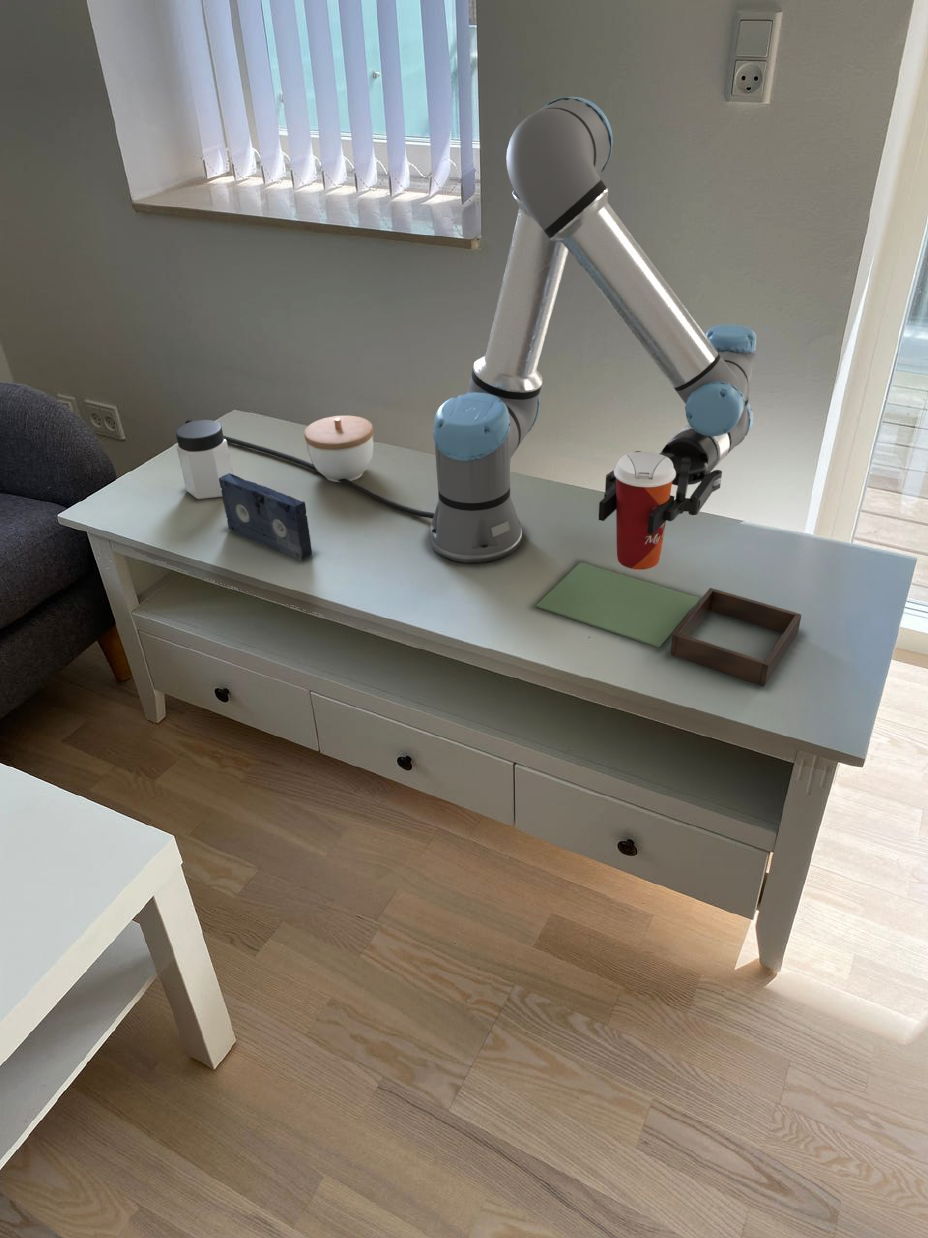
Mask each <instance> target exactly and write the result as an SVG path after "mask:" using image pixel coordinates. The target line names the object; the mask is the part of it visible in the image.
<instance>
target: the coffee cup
mask: <svg viewBox="0 0 928 1238" xmlns="http://www.w3.org/2000/svg"><path fill="white" fill-rule="evenodd" d="M613 470H614V475H615V477H616V510H615V512H616V513H615V514H616V515H615V516H616V520H615V522H616V523H615V524H616V526H615V527H616V528H615V529H616V530H615V531H616V533H615V534H616V559H617V561H618V563H619V564H620V565H621V566H623V567H625V568H627V569H630V570H638V571H640V570H642V571H643V570H648V569H652V568H654V567H656V566H657V565H658V564H659V562H660V558H661V553H662V549H663V548H662V547H663V542H664V536H665V531H666V523H667V520H666V521H665V522H664V524H663V525H662V526H661V527H660V528H659V529H658V530H657V531H656V532H655V533H654V534H653V535H652V534H648V533H647V531H648V519H649V515H650V514H651V513H652V512H653V511H654V510H655V509H656V508H657V507H658V506H659V505H661V504H663V503H665V502H667V501H668V500H669V498H670V495H671V492H672V486H673V484H672V480H673V479H674V478H675V476H676V471H675V469H674V468H673V463H672V461H671V460H670V459H669V458H668V457H666V456H664V455H661V454H659V453H657V452H654V451H653V452H652V451H641V452H636V451H633V452H630V453H627V454H624V455H622V456H621V457H619V459H618V461H617V463H616V466H615V467H614V469H613Z"/></svg>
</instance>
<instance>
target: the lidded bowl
mask: <svg viewBox="0 0 928 1238" xmlns="http://www.w3.org/2000/svg"><path fill="white" fill-rule="evenodd" d="M303 434H304V440H305V443H306V449H307V453H308V456H309V459H310V461H311V464H313V465H314V467H315V468H316V469H317V470H318V471H319V472H318V473H320V474H321V475H322V476H324V477H325V479H327V481H329V482H333V483H340V482H339V481H338V480H340V479H347V480H349V481H351V482H353V481H356V480H358V479H360V478H361V477H362V476H363V475H364V472H365V471H366V470H367V469H368V468H369V466H370V464H371V462H372V459H373V456H374V447H375V442H374V425H373V424H372V422H371V421H370V420H368V419H366V418H364V417H362V416H361V417H360V416H357V415H333V416H328V417H324V418H320V419H318V420H315V421H313V422H312V423H310V424H309V425H307V427H306V428H305V430H304V433H303Z"/></svg>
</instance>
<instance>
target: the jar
mask: <svg viewBox="0 0 928 1238" xmlns="http://www.w3.org/2000/svg"><path fill="white" fill-rule="evenodd" d="M192 421H193V422H189V423H186V422H185V423H186V424H185V423H183V424H182V425H180V426H179V427H177V428H176V430H175V437H176V441H177V444H176V445H175V446H176V451H177V455H178V459H179V465H180V469H181V474H182V477H183V481H184V486H185V490H186V492H188V493H189V494H190V495H191V496H193V497H194V498H196V500H204V499H205V500H206V499H214V498H221V497H222V492H221V490H222V488H220V483H219V478H220V477H222V476H224V475H226V474H228V473H230V474H233V475H234V472H233V465H232V461H231V457H230V456H231V455H230V450H229V446H228V442H227V440H226V439H224V437H223V436H224V433H223V428H222V424H221V423H220V422H218V421H214V420H211V419H199V420H192ZM222 498H223V497H222Z"/></svg>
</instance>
